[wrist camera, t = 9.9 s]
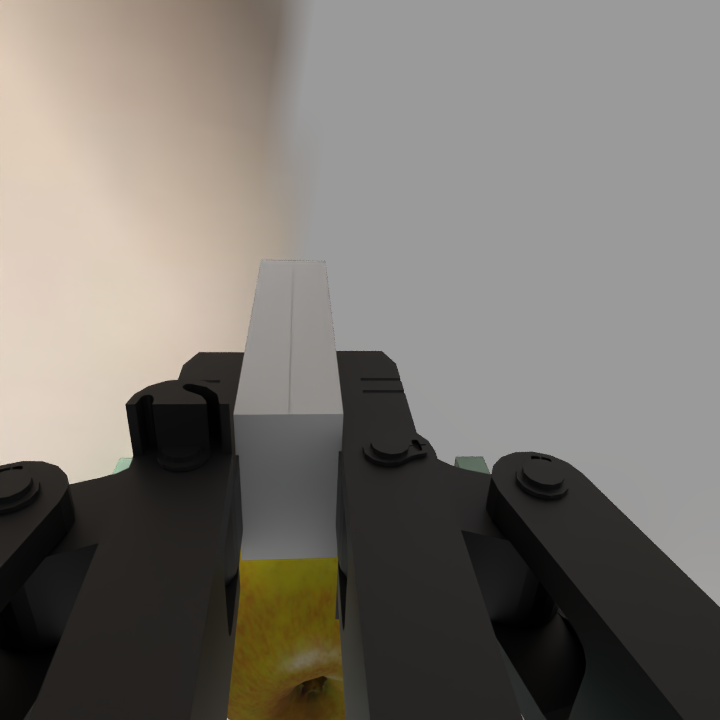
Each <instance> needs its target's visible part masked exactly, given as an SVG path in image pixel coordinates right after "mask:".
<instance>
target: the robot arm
mask: <svg viewBox="0 0 720 720" xmlns="http://www.w3.org/2000/svg"><path fill="white" fill-rule="evenodd" d="M125 405H126V411H127V418H128V424H129V430H130V437H131V443H132V450H133V458H132V461H131V463H130V466H129V468H127V469H125V470H122V471H120V472H118V473H115V474H112V475H108V476H105V477H101V478H97V479H92V480H88V481H83V482H79V483H74V484H70V485H69V482H68V478H67V475H66V474H65V473H64V472H63V471H62V470H61V469H60V468H59V467H58V466H56V465H52V464H49V463H46V462H43V461H21V462H16V463H11V464H6V465H1V466H0V720H227V712H228V702H229V693H230V683H231V674H232V664H233V655H234V645H235V636H236V626H237V617H238V607H239V598H240V573H239V560H240V551H241V554H242V560H270V559H302V558H334V557H337V552H338V571H337V593H336V614H335V619H339V625H340V640H341V655H342V671H343V686H344V701H345V717H346V720H523V718H522V716H523V717H524V719H525V720H720V607H719V606H718V605H717V604H716V603H715V602H714V601H713V600H712V599H711V598H710V597H709V596H708V595H707V594H706V593H705V592H704V591H702V590H701V589H700V588H699V587H698V586H697V585H696V584H695V583H694V582H693V581H692V580H691V579H690V578H689V577H688V576H687V575H686V574H685V573H684V572H683V571H682V570H681V569H680V568H679V567H678V566H677V565H676V564H675V563H674V562H673V561H672V560H671V559H670V558H669V557H668V556H667V555H666V554H665V553H664V552H662V551H661V550H660V549H659V548H658V547H657V546H656V545H655V544H654V543H653V542H652V541H651V540H650V539H649V538H648V537H647V536H646V535H645V534H644V533H643V532H642V531H641V530H640V529H639V528H638V527H637V526H636V525H635V524H633V522H632V521H630V519H628V517H627V516H626V515H624V514H623V513H622V512H621V511H620V510H619V509H618V508H617V507H616V506H615V505H614V504H613V503H612V502H611V501H610V500H609V499H608V498H607V497H606V496H605V495H604V494H603V493H602V492H601V491H600V490H599V489H598V488H597V487H596V486H595V485H594V484H593V483H592V482H591V481H590V480H589V479H588V478H587V477H585V476H584V475H583V474H582V473H581V472H580V471H578V470H577V469H576V468H574V467H573V466H572V465H570V464H569V463H567V462H565V461H563V460H560V459H558V458H555V457H553V456H551V455H546V454H540V453H536V452H515V453H512V454H509V455H506V456H503V457H501V458H500V459H499V460H498V461H497V462H496V464H494V466H493V470H492V474H487V473H482V472H477V471H472V470H467V469H463V468H459V467H455V466H452V465H449V464H447V463H445V462H443V461H440V460H439V459H437V456H436V453H435V451H434V449H433V447H432V446H431V445H430V443H429V441H427V440H426V439H424V438H423V437H422V436H420V435H419V434H417V433H416V429H415V426H414V422H413V419H412V416H411V412H410V409H409V406H408V403H407V399H406V396H405V394H404V389H403V386H402V382H401V381H400V376H399V373H398V369H397V366H396V363H394V362H393V361H392V360H391V359H390V358H389V357H388V356H387V355H385V354H384V353H383V352H382V351H336V348H335V339H334V330H333V322H332V313H331V305H330V297H329V288H328V279H327V271H326V262H325V261H296V260H261V263H260V269H259V274H258V280H257V285H256V291H255V297H254V302H253V308H252V313H251V319H250V325H249V330H248V336H247V341H246V347H245V352H199V353H198V354H196V355H195V356H194V357H193V358H191V359H190V360H189V361H188V362H187V363H185V364H184V365H183V367H182V370H181V373H180V376H179V378H178V380H171V381H165V382H161V383H158V384H154V385H151V386H148V387H146V388H144V389H143V390H141V391H139V392H137V393H136V394H134V395H133V396H132V397H131V399H130V400H129V401H128V402H127V403H126V404H125ZM521 714H522V715H521Z"/></svg>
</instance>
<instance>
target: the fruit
mask: <svg viewBox="0 0 720 720" xmlns="http://www.w3.org/2000/svg"><path fill="white" fill-rule="evenodd" d="M337 571H338V552H337V557H334V558H302V559H270V560H242V554H241V551H240V560H239V573H240V598H239V607H238V617H237V626H236V636H235V645H234V655H233V664H232V674H231V683H230V693H229V702H228V712H227V718H228V719H230V720H346V717H345V701H344V686H343V671H342V655H341V640H340V625H339V619H335V614H336V593H337Z"/></svg>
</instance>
